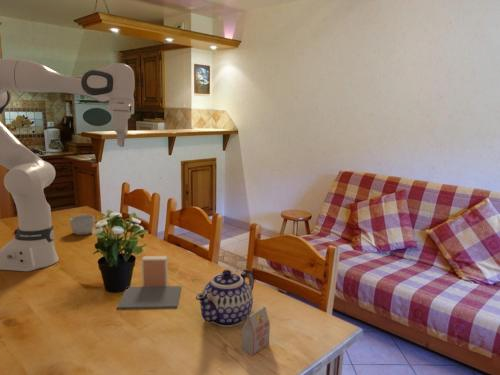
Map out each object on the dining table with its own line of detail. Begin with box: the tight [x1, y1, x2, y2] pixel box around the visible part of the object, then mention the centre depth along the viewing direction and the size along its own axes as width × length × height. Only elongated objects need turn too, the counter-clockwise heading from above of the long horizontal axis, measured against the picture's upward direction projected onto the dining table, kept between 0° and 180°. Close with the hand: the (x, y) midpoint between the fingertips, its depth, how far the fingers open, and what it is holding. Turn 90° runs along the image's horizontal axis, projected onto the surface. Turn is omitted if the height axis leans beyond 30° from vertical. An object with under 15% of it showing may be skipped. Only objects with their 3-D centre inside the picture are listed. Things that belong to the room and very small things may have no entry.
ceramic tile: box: [141, 255, 169, 287], centre depth 135 cm, size 8×3×10 cm, turn 95°
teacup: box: [69, 213, 96, 236], centre depth 191 cm, size 14×11×8 cm
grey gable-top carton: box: [241, 306, 271, 357], centre depth 101 cm, size 4×7×10 cm, turn 140°
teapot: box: [195, 268, 255, 328], centre depth 114 cm, size 25×15×15 cm, turn 141°
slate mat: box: [116, 285, 182, 310], centre depth 127 cm, size 18×14×1 cm
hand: (120, 146), depth 146 cm, fingers open, 8 cm apart
